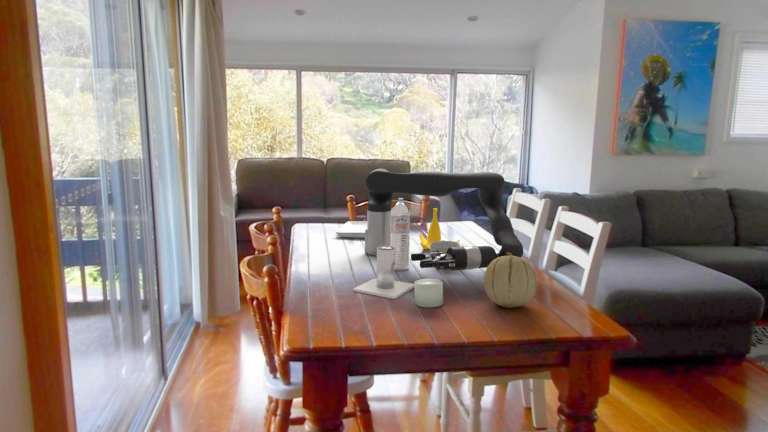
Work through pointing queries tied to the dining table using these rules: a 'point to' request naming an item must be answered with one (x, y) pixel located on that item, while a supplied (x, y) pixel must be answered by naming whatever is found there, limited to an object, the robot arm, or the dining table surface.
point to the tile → (388, 293)
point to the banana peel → (432, 232)
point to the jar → (428, 292)
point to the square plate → (353, 229)
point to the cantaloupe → (510, 281)
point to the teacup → (443, 245)
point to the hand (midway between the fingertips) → (415, 260)
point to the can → (385, 267)
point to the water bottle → (400, 234)
